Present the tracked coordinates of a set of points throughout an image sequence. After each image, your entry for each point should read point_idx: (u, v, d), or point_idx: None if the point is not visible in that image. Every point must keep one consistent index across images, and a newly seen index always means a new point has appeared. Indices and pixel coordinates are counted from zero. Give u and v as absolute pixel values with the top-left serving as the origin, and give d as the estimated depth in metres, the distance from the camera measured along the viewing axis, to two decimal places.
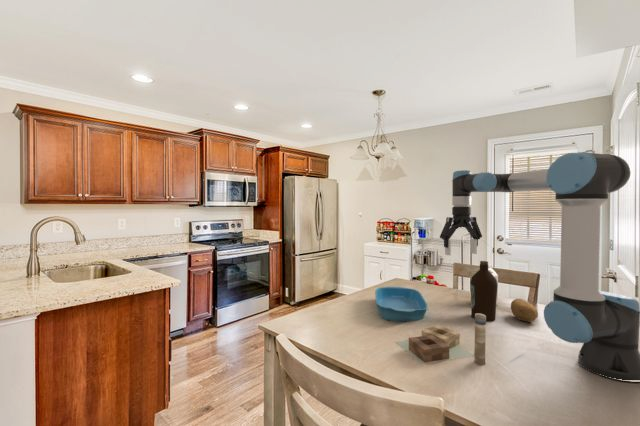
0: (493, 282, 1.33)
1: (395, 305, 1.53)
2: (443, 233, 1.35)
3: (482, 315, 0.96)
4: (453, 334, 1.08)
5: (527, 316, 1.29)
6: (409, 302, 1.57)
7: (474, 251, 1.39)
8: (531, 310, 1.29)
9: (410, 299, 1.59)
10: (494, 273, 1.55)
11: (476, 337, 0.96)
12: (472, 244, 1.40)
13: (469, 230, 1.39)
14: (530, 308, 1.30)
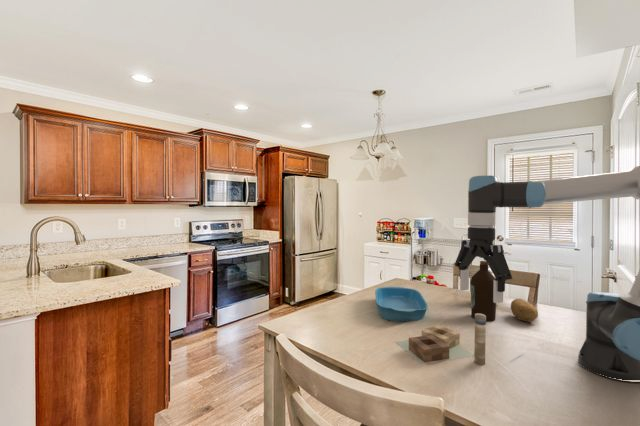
0: (493, 282, 1.33)
1: (395, 305, 1.53)
2: None
3: (482, 315, 0.96)
4: (453, 334, 1.08)
5: (527, 316, 1.29)
6: (409, 302, 1.57)
7: None
8: (531, 310, 1.29)
9: (410, 299, 1.59)
10: None
11: (476, 337, 0.96)
12: None
13: None
14: (530, 308, 1.30)
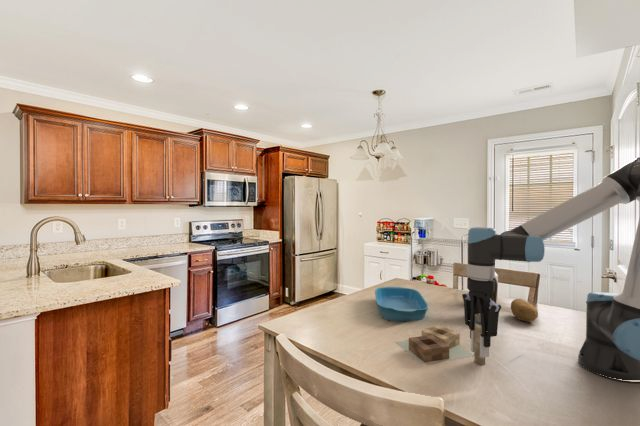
0: None
1: (394, 305, 1.53)
2: None
3: None
4: (453, 334, 1.08)
5: (527, 316, 1.29)
6: (409, 302, 1.57)
7: None
8: (531, 310, 1.29)
9: (409, 299, 1.59)
10: None
11: (476, 337, 0.96)
12: None
13: None
14: (530, 308, 1.30)
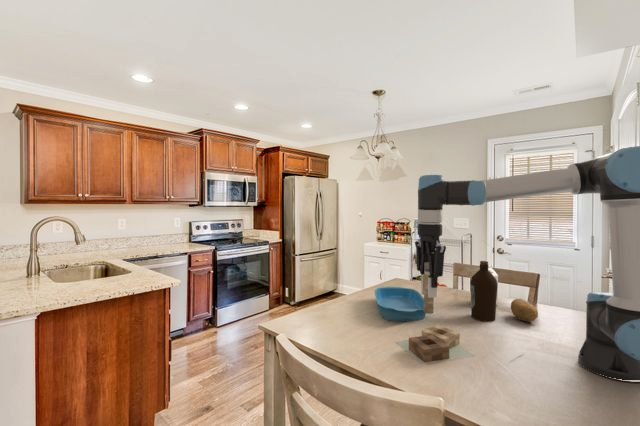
0: (493, 282, 1.33)
1: (394, 305, 1.53)
2: None
3: None
4: (453, 334, 1.08)
5: (527, 316, 1.29)
6: (408, 301, 1.57)
7: None
8: (531, 310, 1.29)
9: (409, 299, 1.60)
10: (494, 273, 1.55)
11: (425, 284, 1.01)
12: None
13: None
14: (530, 308, 1.30)
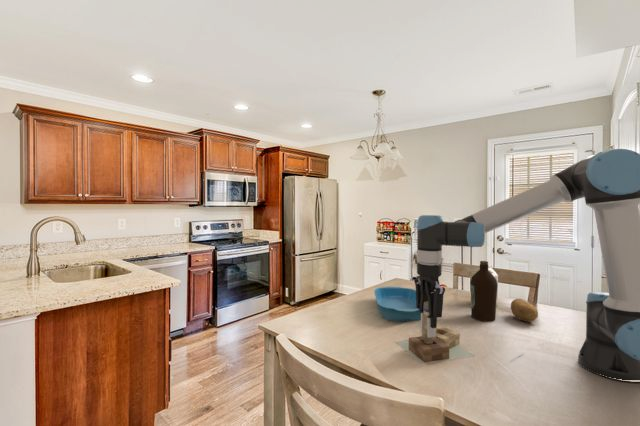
0: (493, 282, 1.33)
1: (394, 305, 1.53)
2: None
3: None
4: (453, 334, 1.08)
5: (527, 315, 1.29)
6: (408, 301, 1.57)
7: None
8: (531, 310, 1.29)
9: (408, 299, 1.60)
10: (494, 273, 1.55)
11: (424, 324, 1.01)
12: None
13: None
14: (530, 308, 1.30)
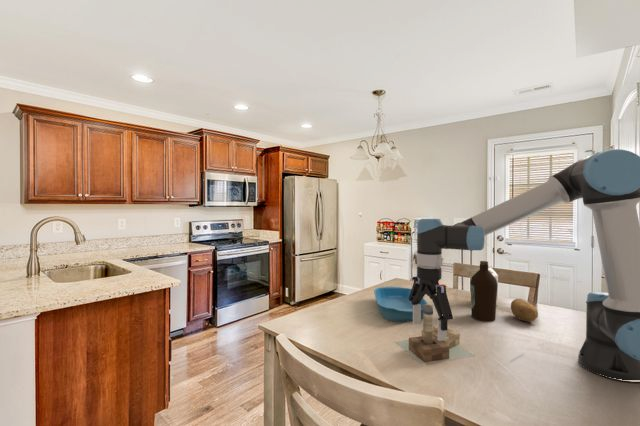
0: (493, 282, 1.33)
1: (394, 305, 1.53)
2: None
3: (430, 305, 1.01)
4: (453, 334, 1.08)
5: (527, 316, 1.29)
6: (407, 301, 1.58)
7: None
8: (531, 310, 1.29)
9: (408, 299, 1.60)
10: (494, 273, 1.55)
11: (424, 326, 1.01)
12: None
13: None
14: (530, 308, 1.30)
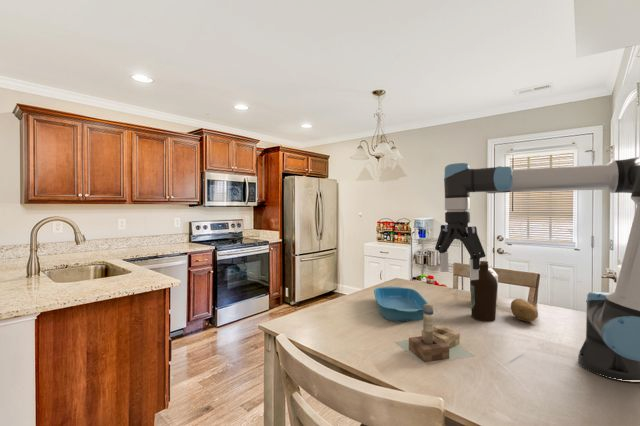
0: (493, 282, 1.33)
1: (393, 305, 1.53)
2: None
3: (430, 305, 1.01)
4: (453, 334, 1.08)
5: (527, 316, 1.29)
6: (407, 301, 1.58)
7: None
8: (531, 310, 1.29)
9: (407, 299, 1.60)
10: (494, 273, 1.55)
11: (424, 326, 1.01)
12: None
13: None
14: (530, 308, 1.30)
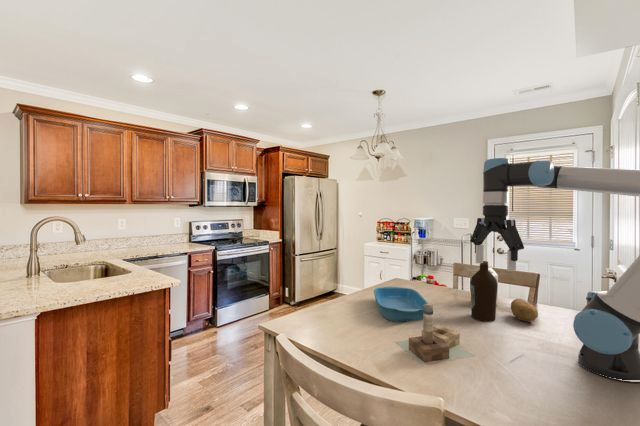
0: (493, 282, 1.33)
1: (393, 305, 1.53)
2: None
3: (430, 305, 1.01)
4: (453, 334, 1.08)
5: (527, 316, 1.29)
6: (407, 301, 1.58)
7: None
8: (531, 310, 1.29)
9: (407, 298, 1.60)
10: (494, 273, 1.55)
11: (424, 326, 1.01)
12: None
13: None
14: (530, 308, 1.30)
